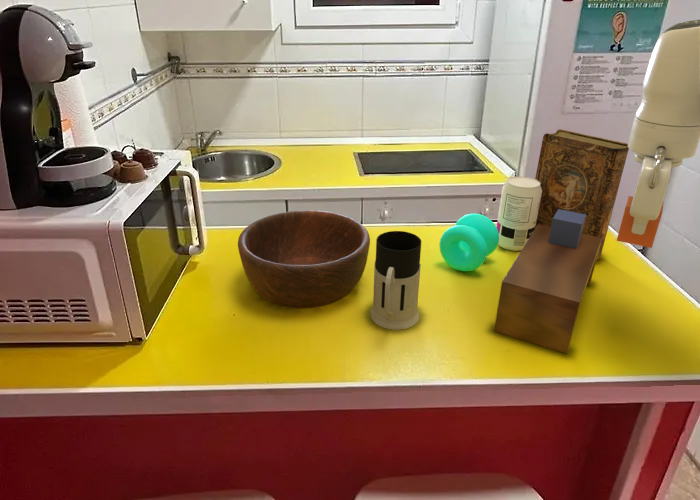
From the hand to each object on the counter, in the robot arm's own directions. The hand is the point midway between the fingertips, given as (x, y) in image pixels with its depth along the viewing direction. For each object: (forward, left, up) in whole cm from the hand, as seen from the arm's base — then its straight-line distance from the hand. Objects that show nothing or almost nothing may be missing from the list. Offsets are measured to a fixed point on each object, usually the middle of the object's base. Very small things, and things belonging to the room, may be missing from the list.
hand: (639, 224), depth 83 cm
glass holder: (+33, +20, -19) cm, 43 cm away
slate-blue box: (+11, -8, -9) cm, 17 cm away
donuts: (+29, -8, -19) cm, 36 cm away
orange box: (0, 0, -2) cm, 2 cm away
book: (+13, -26, -19) cm, 35 cm away
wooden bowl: (+54, +16, -19) cm, 60 cm away
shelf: (+11, 0, -19) cm, 22 cm away
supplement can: (+23, -22, -19) cm, 37 cm away
